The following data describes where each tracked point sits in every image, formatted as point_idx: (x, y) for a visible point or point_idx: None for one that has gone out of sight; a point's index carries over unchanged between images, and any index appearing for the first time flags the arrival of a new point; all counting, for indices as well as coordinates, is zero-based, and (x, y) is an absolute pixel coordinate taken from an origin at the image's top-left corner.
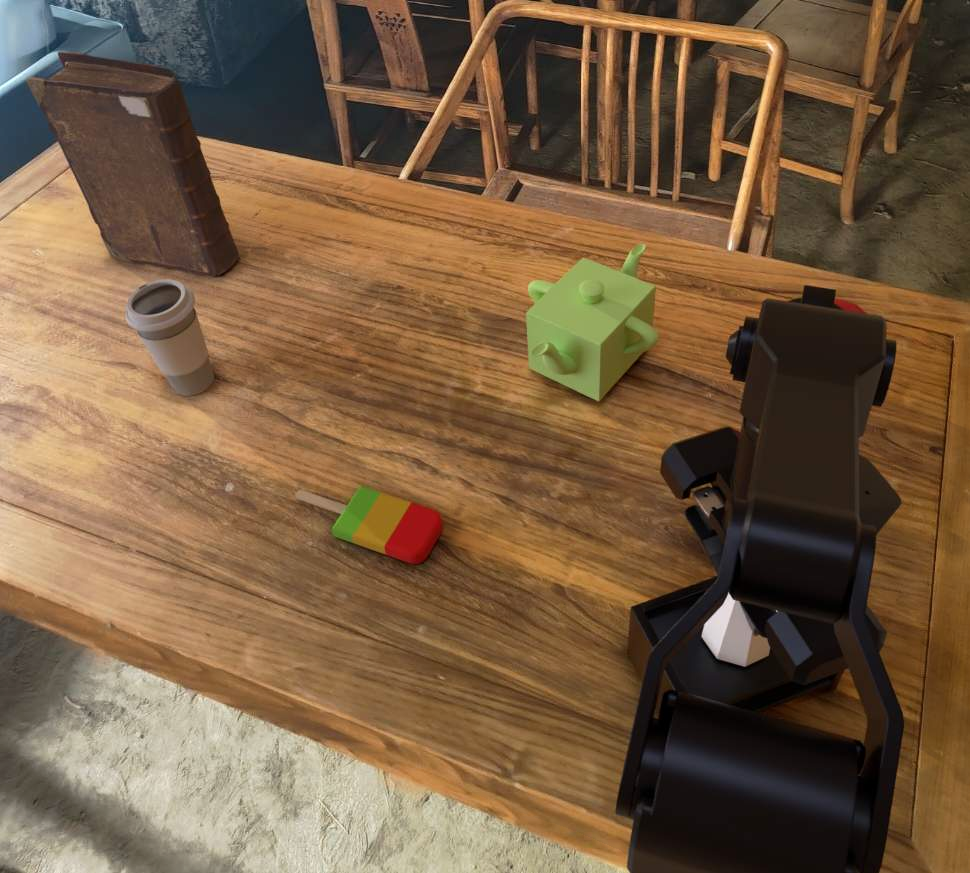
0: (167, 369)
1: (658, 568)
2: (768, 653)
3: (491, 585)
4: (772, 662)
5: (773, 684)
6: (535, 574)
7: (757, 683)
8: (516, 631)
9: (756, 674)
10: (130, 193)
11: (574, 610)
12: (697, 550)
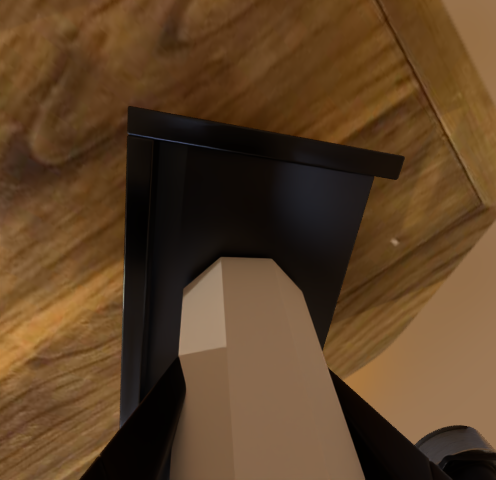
0: None
1: (50, 243)
2: (303, 296)
3: (3, 419)
4: (309, 285)
5: (335, 302)
6: (3, 376)
7: (322, 323)
8: (77, 416)
9: (310, 316)
10: None
11: (74, 359)
12: (38, 174)
